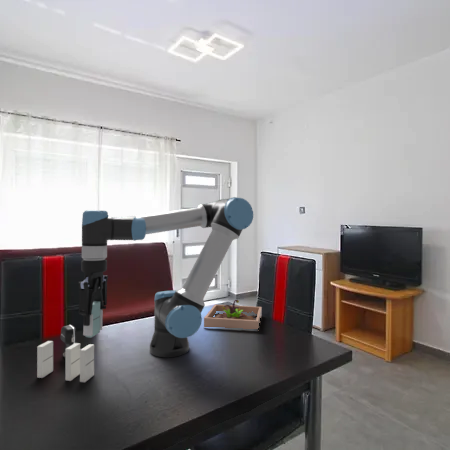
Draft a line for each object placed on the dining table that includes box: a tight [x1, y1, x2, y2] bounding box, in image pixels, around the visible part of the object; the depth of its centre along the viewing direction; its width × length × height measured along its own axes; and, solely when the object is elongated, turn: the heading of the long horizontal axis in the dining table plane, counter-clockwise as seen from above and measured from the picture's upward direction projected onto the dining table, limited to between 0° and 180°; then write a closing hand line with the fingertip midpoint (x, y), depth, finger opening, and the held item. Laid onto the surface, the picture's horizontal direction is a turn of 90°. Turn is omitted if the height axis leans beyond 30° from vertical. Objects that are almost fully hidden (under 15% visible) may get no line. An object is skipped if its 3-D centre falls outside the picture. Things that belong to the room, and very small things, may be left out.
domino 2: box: [85, 301, 101, 338], centre depth 104 cm, size 2×5×10 cm, turn 171°
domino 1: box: [64, 342, 81, 382], centre depth 105 cm, size 2×5×10 cm, turn 170°
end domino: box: [36, 340, 54, 379], centre depth 107 cm, size 2×5×10 cm, turn 170°
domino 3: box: [79, 343, 95, 383], centre depth 105 cm, size 2×5×10 cm, turn 170°
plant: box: [212, 299, 256, 320], centre depth 165 cm, size 20×20×11 cm
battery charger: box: [60, 324, 77, 360], centre depth 120 cm, size 7×4×11 cm, turn 42°
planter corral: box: [203, 304, 263, 329], centre depth 164 cm, size 25×25×5 cm
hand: (93, 332), depth 104 cm, fingers closed on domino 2, 5 cm apart
